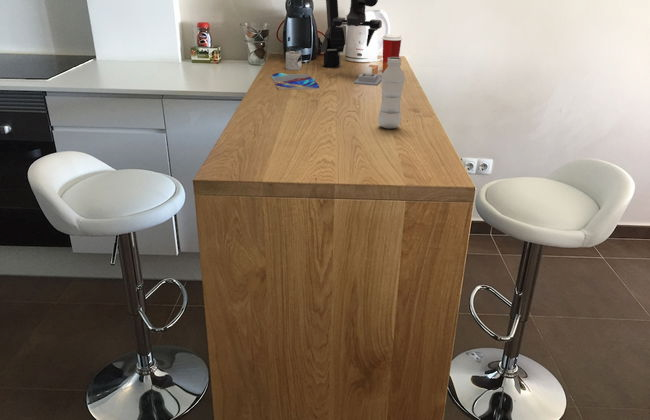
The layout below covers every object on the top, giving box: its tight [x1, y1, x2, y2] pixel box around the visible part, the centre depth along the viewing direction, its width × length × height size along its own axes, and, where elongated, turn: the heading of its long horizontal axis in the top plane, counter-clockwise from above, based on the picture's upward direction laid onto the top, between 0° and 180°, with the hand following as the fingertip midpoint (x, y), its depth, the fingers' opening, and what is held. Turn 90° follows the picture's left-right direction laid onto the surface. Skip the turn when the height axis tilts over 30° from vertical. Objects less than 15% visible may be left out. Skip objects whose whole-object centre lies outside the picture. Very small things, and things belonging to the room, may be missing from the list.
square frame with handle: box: [357, 64, 379, 83], centre depth 226 cm, size 14×6×4 cm, turn 164°
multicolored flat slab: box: [270, 72, 320, 90], centre depth 220 cm, size 25×15×2 cm, turn 11°
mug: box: [285, 50, 302, 71], centre depth 244 cm, size 10×7×7 cm
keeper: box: [353, 66, 382, 87], centre depth 226 cm, size 9×18×6 cm, turn 164°
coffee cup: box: [381, 33, 403, 73], centre depth 240 cm, size 8×8×15 cm
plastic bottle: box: [377, 56, 406, 129], centre depth 164 cm, size 6×7×20 cm
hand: (356, 45), depth 229 cm, fingers open, 9 cm apart
